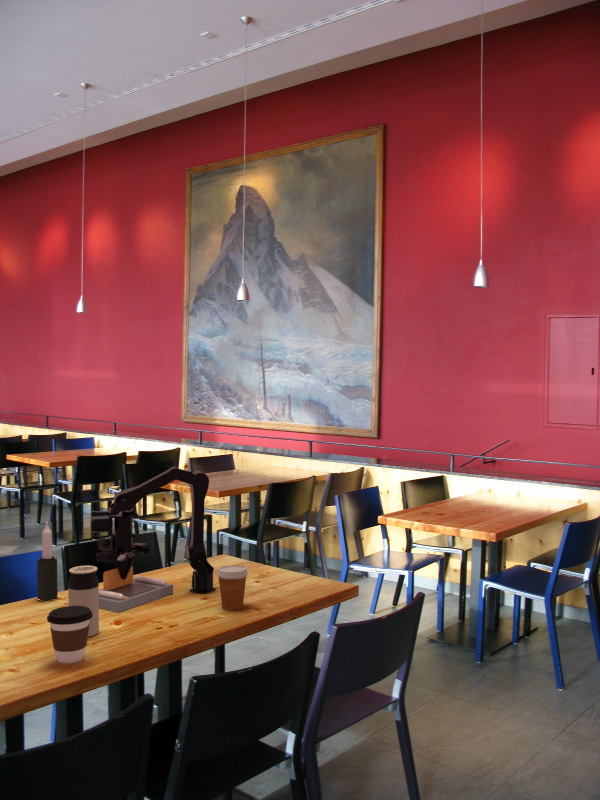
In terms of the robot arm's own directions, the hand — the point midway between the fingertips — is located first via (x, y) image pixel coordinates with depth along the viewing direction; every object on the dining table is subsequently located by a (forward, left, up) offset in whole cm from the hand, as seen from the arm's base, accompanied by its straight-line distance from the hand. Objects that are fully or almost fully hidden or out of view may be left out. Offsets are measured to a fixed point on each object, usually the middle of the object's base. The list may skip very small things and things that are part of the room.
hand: (123, 579), depth 238 cm
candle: (+20, +14, -6) cm, 25 cm away
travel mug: (-16, +31, -6) cm, 36 cm away
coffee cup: (-28, +46, -6) cm, 54 cm away
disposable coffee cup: (-36, -10, -6) cm, 38 cm away
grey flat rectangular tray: (-2, 0, -6) cm, 7 cm away
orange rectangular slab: (+2, 0, -3) cm, 4 cm away
